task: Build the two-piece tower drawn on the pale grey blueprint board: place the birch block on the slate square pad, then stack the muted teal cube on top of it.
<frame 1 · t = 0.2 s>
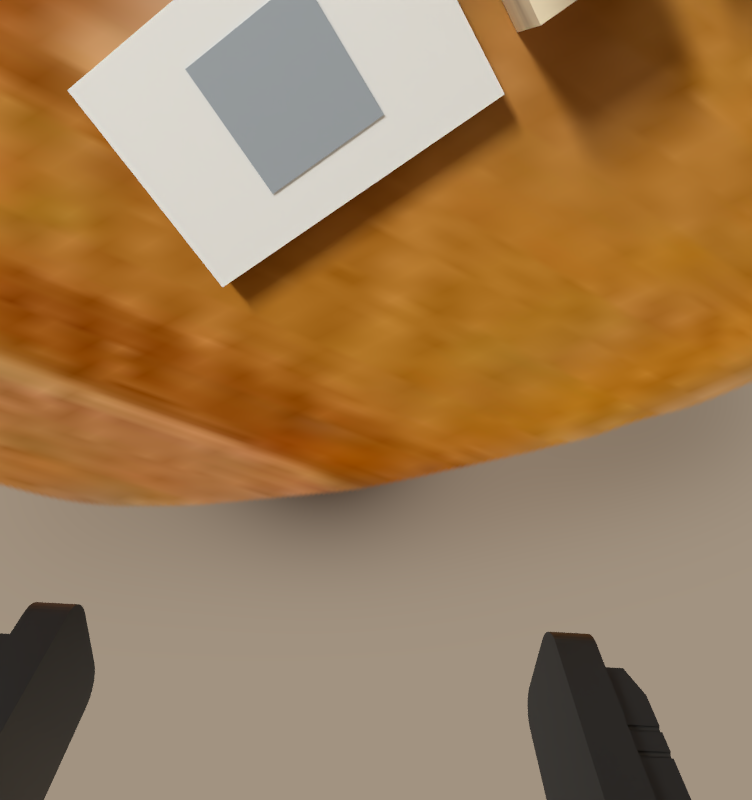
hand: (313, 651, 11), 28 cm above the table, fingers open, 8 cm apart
board: (289, 91, 32), on the table
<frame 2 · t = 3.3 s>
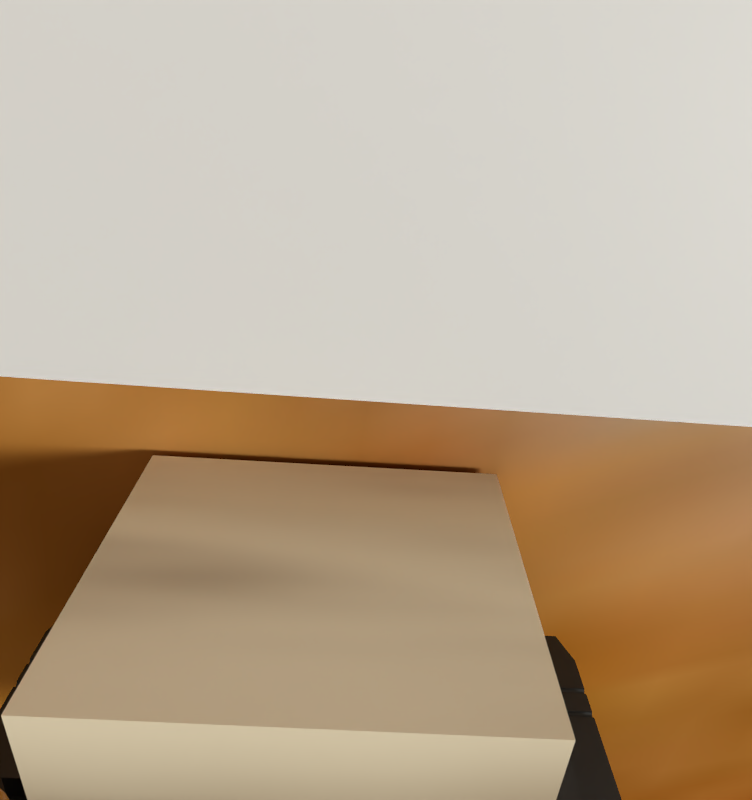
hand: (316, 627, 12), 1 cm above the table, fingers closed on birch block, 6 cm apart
birch block: (321, 593, 12), on the table, touching gripper
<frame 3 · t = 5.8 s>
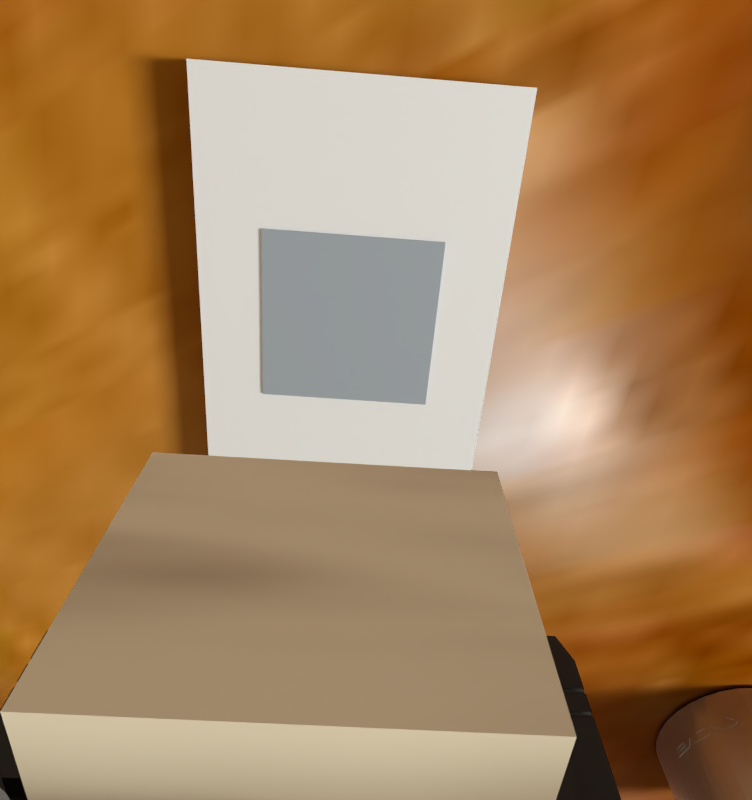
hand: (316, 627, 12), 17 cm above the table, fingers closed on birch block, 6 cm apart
birch block: (321, 590, 12), point 16 cm above the table, touching gripper
board: (350, 311, 27), on the table
when the fingers open (3 cm above the table, at t = 8.8 s): birch block stays where it is, resting on board.
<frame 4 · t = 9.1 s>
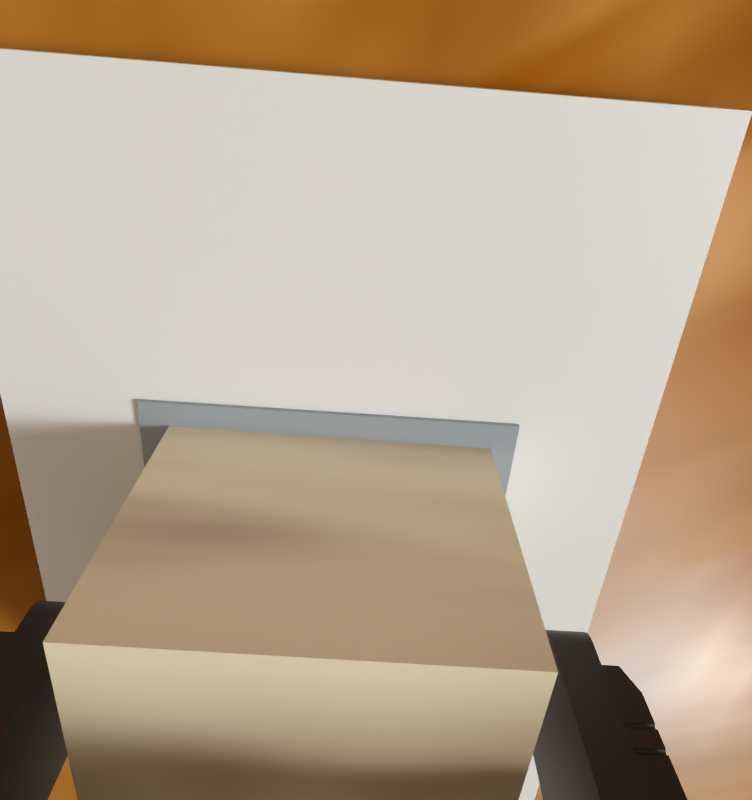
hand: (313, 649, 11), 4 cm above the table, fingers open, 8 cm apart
birch block: (324, 560, 13), point 1 cm above the table, touching board
board: (327, 521, 14), on the table
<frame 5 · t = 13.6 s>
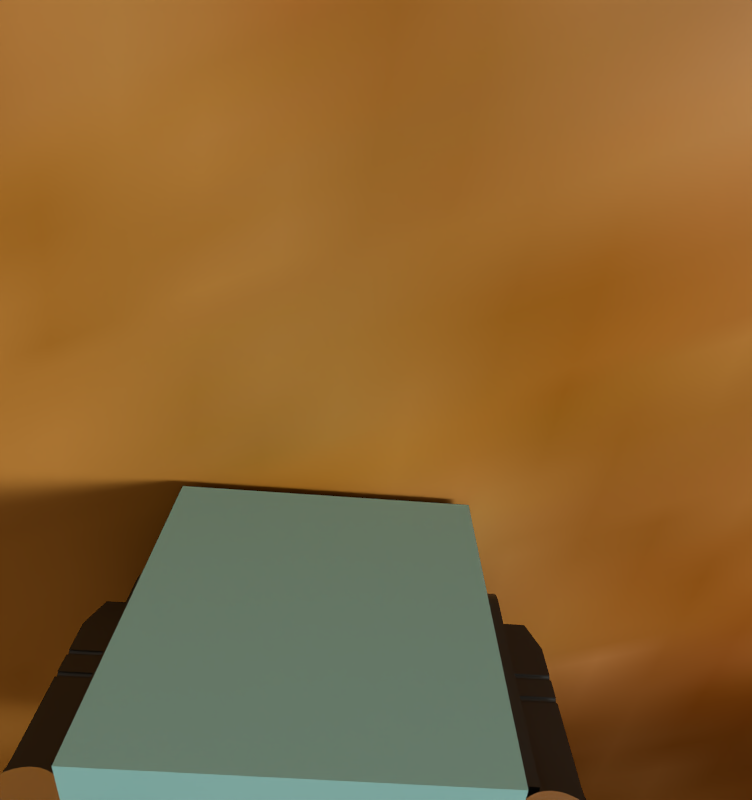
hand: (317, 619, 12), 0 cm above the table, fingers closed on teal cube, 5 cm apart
teal cube: (320, 601, 12), on the table, touching gripper
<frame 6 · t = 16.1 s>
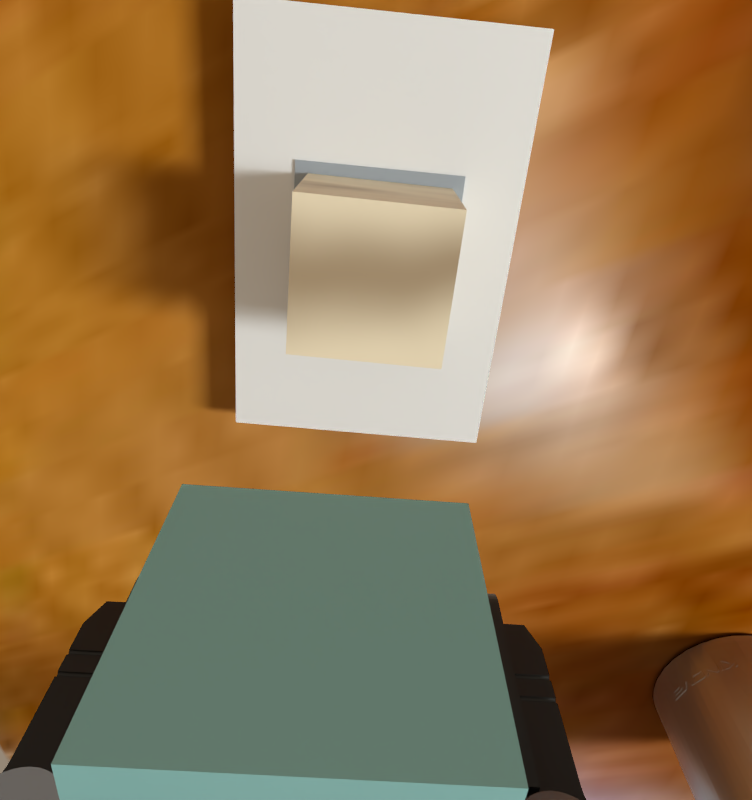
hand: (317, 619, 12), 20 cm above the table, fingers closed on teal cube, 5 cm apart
birch block: (373, 253, 27), point 1 cm above the table, touching board
board: (373, 246, 29), on the table
teal cube: (320, 599, 12), point 20 cm above the table, touching gripper
when the fingers open (8 cm above the table, at t = 19.0 s): teal cube stays where it is, resting on birch block.
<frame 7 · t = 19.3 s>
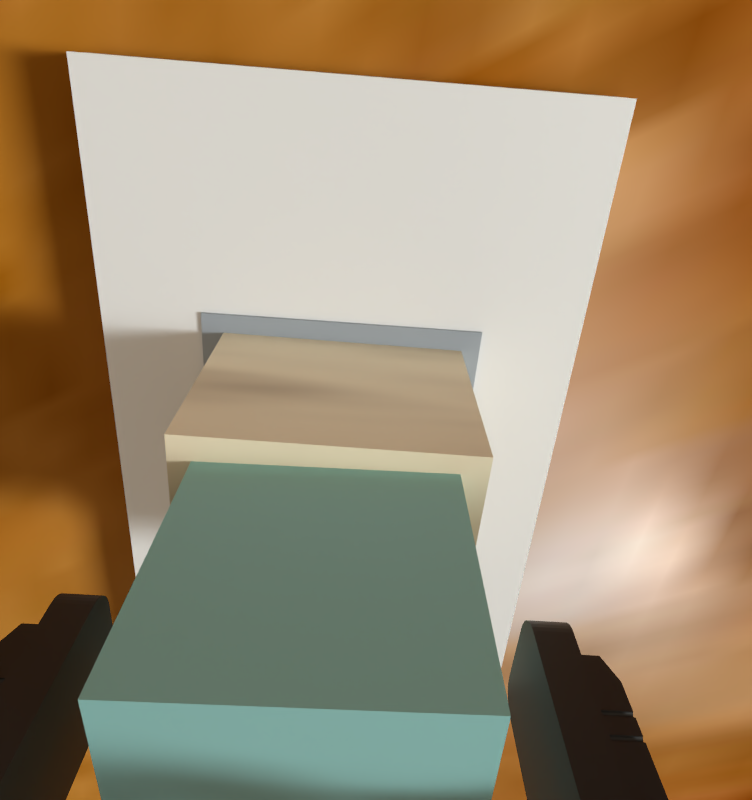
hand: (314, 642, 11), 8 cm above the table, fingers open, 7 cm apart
birch block: (336, 443, 17), point 1 cm above the table, touching board, teal cube
board: (338, 420, 19), on the table
teal cube: (323, 570, 13), point 6 cm above the table, touching birch block
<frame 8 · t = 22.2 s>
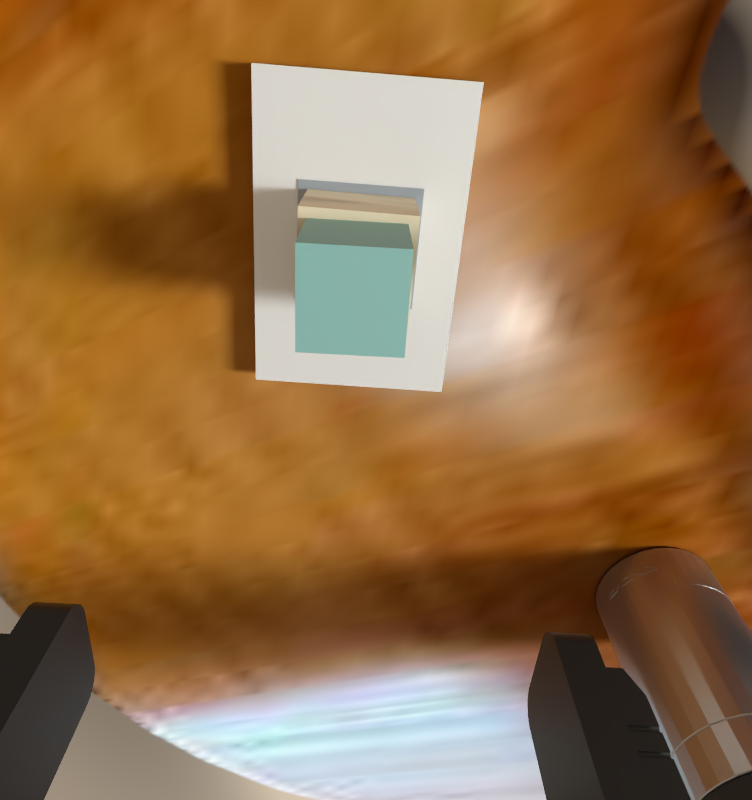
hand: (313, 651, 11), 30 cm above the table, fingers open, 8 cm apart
birch block: (357, 247, 37), point 1 cm above the table, touching board, teal cube
board: (358, 241, 38), on the table
teal cube: (355, 270, 32), point 6 cm above the table, touching birch block
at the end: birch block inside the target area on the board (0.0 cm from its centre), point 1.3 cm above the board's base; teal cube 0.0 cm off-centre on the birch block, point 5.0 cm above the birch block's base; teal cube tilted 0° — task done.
